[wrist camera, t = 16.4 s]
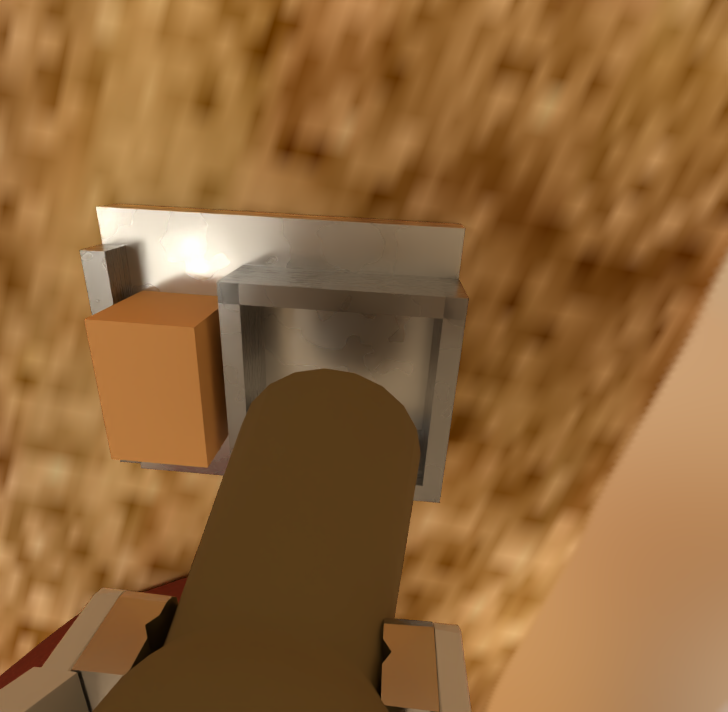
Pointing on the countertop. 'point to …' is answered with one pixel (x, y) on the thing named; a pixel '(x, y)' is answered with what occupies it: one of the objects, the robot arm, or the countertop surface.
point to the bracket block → (161, 377)
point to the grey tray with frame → (304, 303)
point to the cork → (292, 559)
